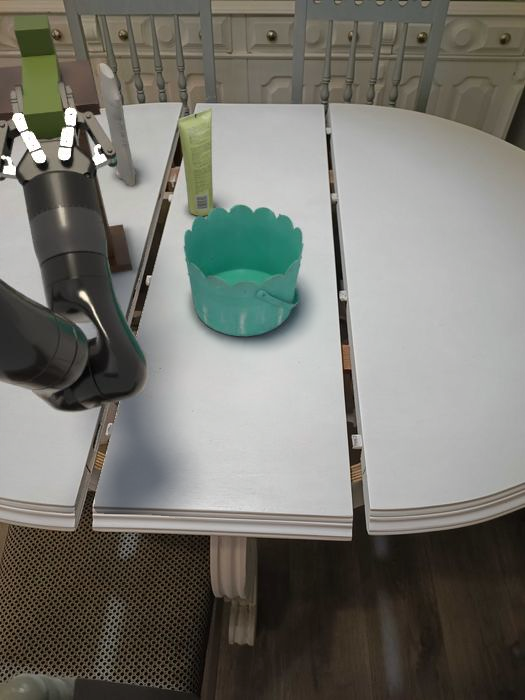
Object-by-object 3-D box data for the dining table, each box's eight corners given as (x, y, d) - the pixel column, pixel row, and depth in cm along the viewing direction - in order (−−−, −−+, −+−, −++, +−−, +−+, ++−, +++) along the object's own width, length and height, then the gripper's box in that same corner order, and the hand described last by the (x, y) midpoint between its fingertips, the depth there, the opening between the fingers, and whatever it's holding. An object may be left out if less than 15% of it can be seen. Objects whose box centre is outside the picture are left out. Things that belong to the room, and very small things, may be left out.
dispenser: (110, 164, 118) (88, 58, 101) (128, 161, 119) (109, 55, 102) (123, 189, 111) (102, 80, 95) (142, 184, 113) (124, 76, 96)
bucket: (195, 263, 96) (189, 201, 86) (296, 265, 96) (301, 204, 87) (184, 341, 84) (176, 279, 74) (300, 344, 84) (307, 282, 74)
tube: (191, 200, 109) (183, 104, 95) (216, 202, 109) (211, 106, 94) (186, 216, 106) (177, 119, 91) (211, 218, 105) (206, 121, 91)
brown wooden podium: (65, 309, 88) (-5, 113, 63) (59, 240, 100) (-2, 53, 75) (138, 295, 90) (98, 102, 66) (124, 230, 102) (85, 46, 78)
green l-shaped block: (31, 141, 58) (13, 85, 54) (28, 67, 71) (14, 16, 67) (69, 137, 59) (54, 81, 55) (59, 64, 72) (47, 14, 68)
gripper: (131, 200, 55) (100, 58, 58) (-14, 220, 52) (-39, 69, 55) (135, 230, 63) (108, 103, 66) (8, 250, 60) (-15, 115, 63)
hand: (40, 88), depth 60 cm, fingers closed on green l-shaped block, 4 cm apart
